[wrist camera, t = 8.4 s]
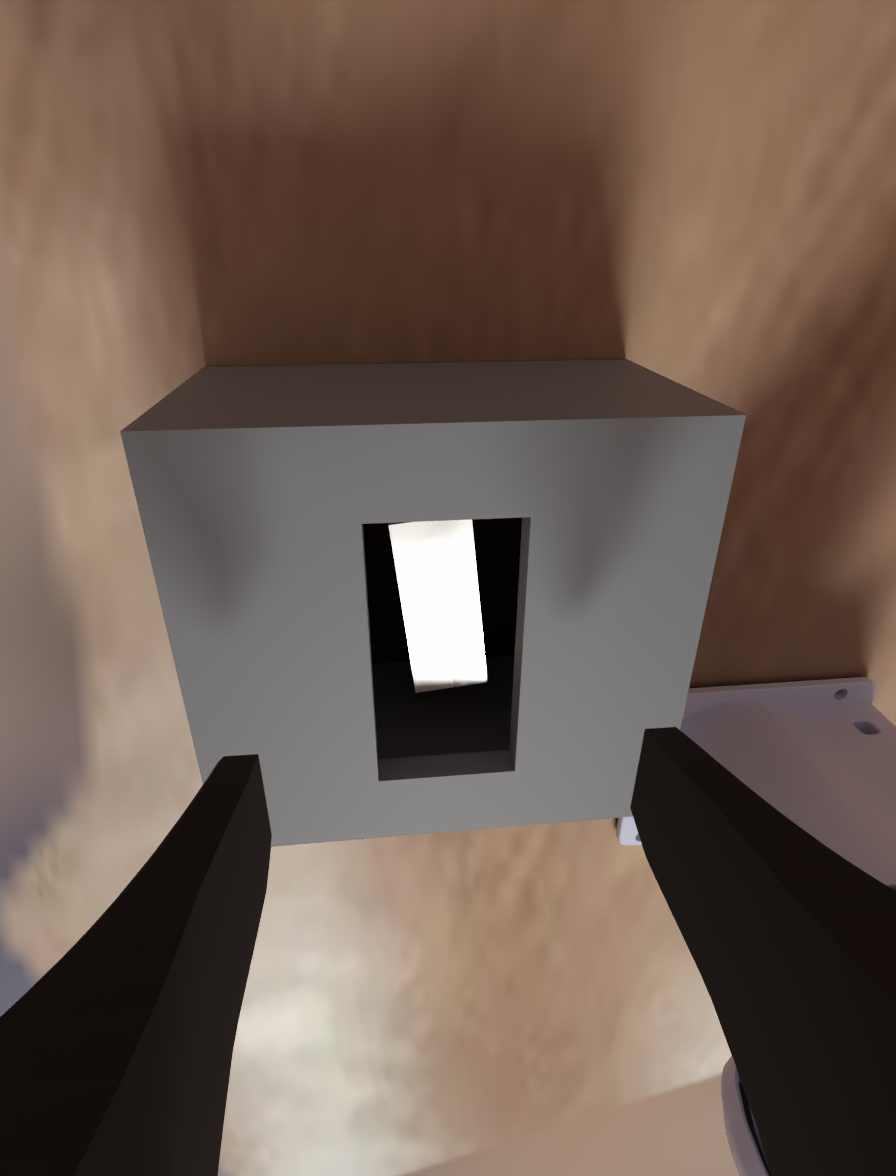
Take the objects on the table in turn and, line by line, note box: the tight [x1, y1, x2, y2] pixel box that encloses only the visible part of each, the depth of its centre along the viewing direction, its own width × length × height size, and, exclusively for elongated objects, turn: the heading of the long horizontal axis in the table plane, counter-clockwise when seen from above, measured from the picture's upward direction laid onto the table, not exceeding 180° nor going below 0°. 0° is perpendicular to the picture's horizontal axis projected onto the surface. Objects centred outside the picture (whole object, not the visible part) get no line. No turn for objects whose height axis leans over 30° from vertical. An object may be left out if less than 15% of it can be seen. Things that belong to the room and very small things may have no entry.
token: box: [388, 519, 488, 693], centre depth 19 cm, size 2×5×5 cm, turn 6°
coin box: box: [120, 359, 746, 847], centre depth 18 cm, size 12×11×7 cm
